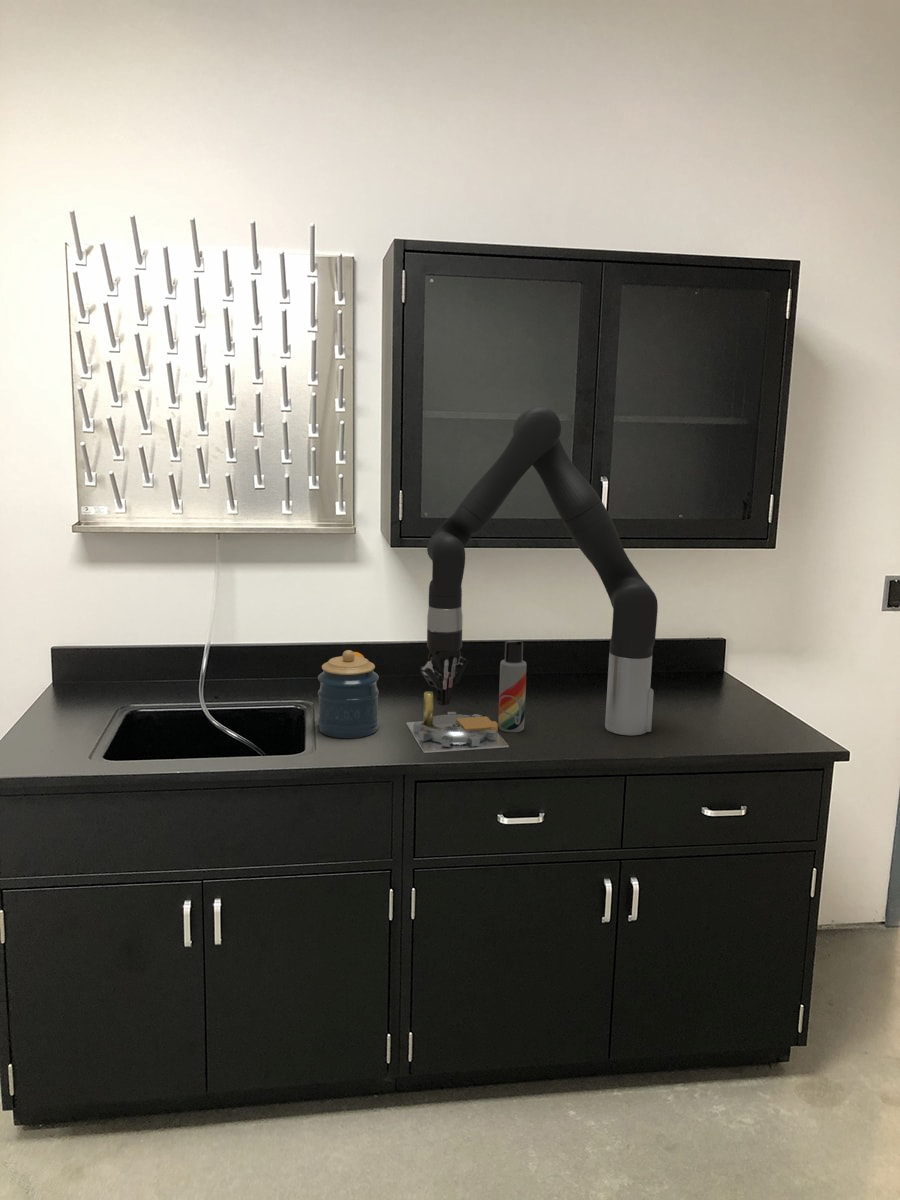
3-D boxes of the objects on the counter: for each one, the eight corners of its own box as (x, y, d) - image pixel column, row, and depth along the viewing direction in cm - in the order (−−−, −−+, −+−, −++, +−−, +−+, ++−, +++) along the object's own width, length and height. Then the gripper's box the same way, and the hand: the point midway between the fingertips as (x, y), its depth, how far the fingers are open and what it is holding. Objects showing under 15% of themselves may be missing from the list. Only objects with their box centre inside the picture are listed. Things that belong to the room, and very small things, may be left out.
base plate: (484, 719, 211) (484, 717, 211) (508, 747, 194) (508, 745, 194) (406, 724, 207) (406, 722, 207) (423, 752, 190) (423, 751, 190)
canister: (310, 737, 198) (310, 656, 194) (327, 717, 210) (326, 641, 207) (371, 741, 196) (371, 659, 192) (384, 721, 208) (384, 644, 205)
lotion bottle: (508, 734, 202) (511, 644, 198) (493, 726, 206) (495, 638, 202) (529, 730, 205) (532, 641, 201) (513, 722, 210) (516, 635, 206)
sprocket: (418, 716, 210) (418, 680, 208) (498, 720, 209) (499, 683, 207) (408, 745, 192) (409, 705, 190) (496, 749, 191) (497, 709, 189)
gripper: (454, 619, 207) (453, 694, 211) (409, 628, 198) (409, 706, 201) (478, 625, 202) (477, 702, 205) (434, 634, 193) (433, 715, 196)
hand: (443, 704), depth 203 cm, fingers closed
